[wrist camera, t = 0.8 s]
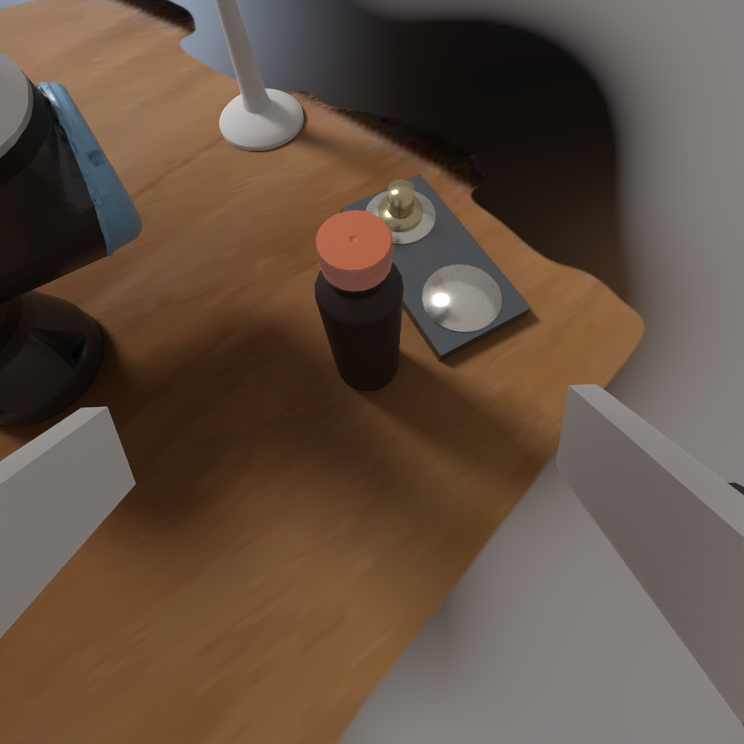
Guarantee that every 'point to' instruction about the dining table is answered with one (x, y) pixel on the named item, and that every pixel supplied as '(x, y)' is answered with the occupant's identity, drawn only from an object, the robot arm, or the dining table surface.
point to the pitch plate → (442, 269)
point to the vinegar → (360, 297)
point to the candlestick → (253, 95)
